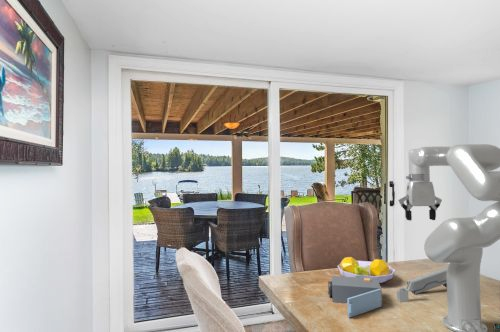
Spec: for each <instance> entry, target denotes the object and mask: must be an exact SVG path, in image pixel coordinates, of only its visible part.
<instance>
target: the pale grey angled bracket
mask: <svg viewBox="0 0 500 332" xmlns="http://www.w3.org/2000/svg"><path fill="white" fill-rule="evenodd" d="M408 280H409V282H408V284H407V283H406V287H400V288H399V289H397V290H396V297H397V298H396V299H397V302H399V303H405V302H407V303H408V302H409V292H410V293H412V292H411V291H412V288H413V286H414V282H412V281H410V280H411V279H408Z"/></svg>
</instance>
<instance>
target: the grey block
mask: <svg viewBox="0 0 500 332" xmlns="http://www.w3.org/2000/svg"><path fill="white" fill-rule="evenodd" d="M327 282H328V283H327V286H328V287H327V288H328V293H327V295H328V296H332V303H340V304H347V298H350V297H354V296H357V295H360V294H363V293H367V292H370V291H373V290H377V289H382V286H381V283H379V282H378V279H375V278H359V277H345V276H343V275H340V276H339V275H331V281H330V280H328V281H327Z"/></svg>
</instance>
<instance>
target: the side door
mask: <svg viewBox="0 0 500 332" xmlns="http://www.w3.org/2000/svg"><path fill="white" fill-rule="evenodd" d="M346 304H347V306H346V307H347V309H346V310H347V318H353V317H355V316H359V315H361V314H363V313H367V312H370V311H372V310H376V309H378V308H382V307H383V290H382V288H381V289H377V290H373V291H370V292H367V293H363V294H360V295H357V296H354V297H350V298H347V303H346Z"/></svg>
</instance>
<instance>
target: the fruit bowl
mask: <svg viewBox="0 0 500 332" xmlns="http://www.w3.org/2000/svg"><path fill="white" fill-rule="evenodd" d="M337 269H338V270H339V272H340V274H341V275H340V276H343V277H359V278H375V279H378V282H379V284H383V283H385V282H387V281H389V280H391V279H393V276H394V274H395V272H396V269H395V268H393V267H392V266H390V265H388V263H387V262H386V260H384V259H377V258H376V259H374V260H372V261H367V260H356V259H355V258H354V257H352V256H347V257H344V258H342V260H341V261H340V263H339V264H338V265H337Z"/></svg>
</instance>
